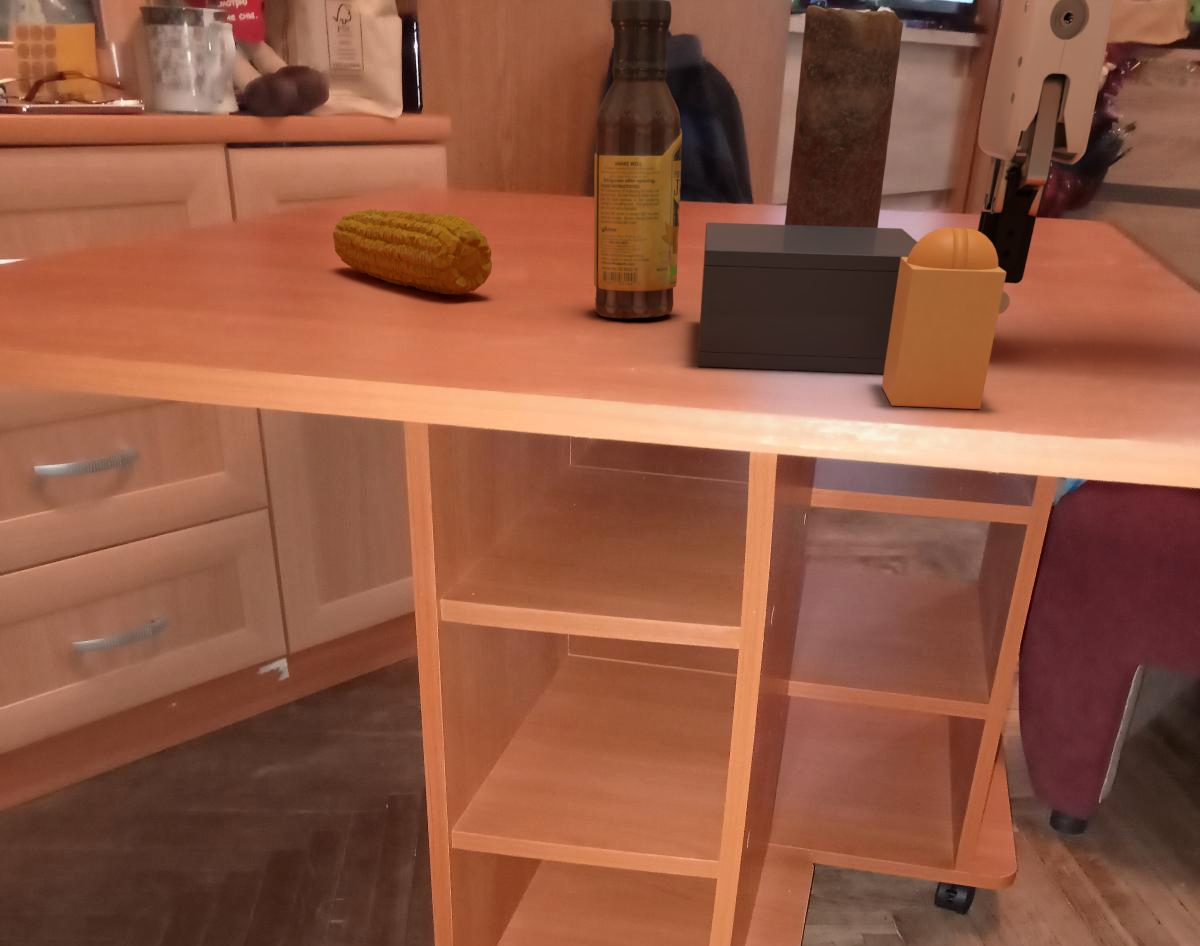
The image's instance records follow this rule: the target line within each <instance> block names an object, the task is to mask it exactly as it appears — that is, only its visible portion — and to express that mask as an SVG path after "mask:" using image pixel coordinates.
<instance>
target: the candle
mask: <svg viewBox="0 0 1200 946" xmlns="http://www.w3.org/2000/svg"><path fill="white" fill-rule="evenodd" d="M903 28H904V23H903V21H902V20H901V19H900V18H899V16H898V15H897V14H896V13H895V12H894V11H890V10H887V9H884V10H878V11H876V10H870V11H869V10H867V11H864V12H863V11H858V10H855V9H848V8H841V9H840V8H839V9H835V8H832V7H831V8H830V7H828V8H824V7H822V6H819V5H816V4H811V5H808V6H807V7H806V10H805V16H804V28H803V29H804V30H803V39H802V48H801V49H802V50H801V57H800V59H801V60H800V68H799V69H800V71H799V81H798V89H797V90H798V91H797V92H798V93H797V100H796V108H795V123H794V132H793V133H794V134H793V144H792V153H791V161H790V168H789V180H788V192H787V199H786V208H785V219H784V225H804V226H836V227H868V228H879V219H880V213H881V204H882V197H883V187H884V180H885V179H884V178H885V171H886V164H887V155H888V146H889V139H890V138H889V137H890V131H891V123H892V114H893V106H894V100H895V93H896V82H897V75H898V69H899V60H900V54H901V53H900V52H901V44H902V36H903Z"/></svg>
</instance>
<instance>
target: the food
mask: <svg viewBox="0 0 1200 946" xmlns="http://www.w3.org/2000/svg"><path fill="white" fill-rule="evenodd" d="M332 237H333V244H334V251H335V253H336V255H337V256H338V257H339V258H340V260H341V261H342V262H343V263H344V264H346V265H347V266H349V267H350V268H351V269H354V270H357V271H358V272H360V273H361V274H368V276H371V277H372V278H374V279H376V278H377V279H380V280H383V281H384V282H386V283H388V284H394V285H399V286H403V287H409V286H410V287H413V288H416V289H417V290H420V291H428V292H429V293H435V294H438V293H439V294H441V295H459V296H460V295H461V294H468V293H471V292H474V291H476V290H477V289H479V288H480V287H481V286H482V285H483V284H485V283H486V281H487V280H488V278H489V277H490V276H491V274H492V268H493V262H492V259H491V258H492V249H491V247H490V245H489V243H488V238H487V237H486V236H485V235H484V234H483V233H482V232H481V230H480V228H478V227H477V226H476V225H475V224H474V223H472V222H470V221H469V220H466V219H465V218H462V217H460V216H459V215H457V214H456V213H454V214H450V213H448V214H446V213H439V214H438V213H434V212H433V213H431V214H430V213H429V214H428V213H424V212H419V211H416V212H413V211H408V210H407V211H404V210H396V209H394V210H389V211H388V210H382V209H376V208H374V209H372V208H370V209H365V210H359V211H358V212H353V213H352V212H351V213H348V214H346V215H343V216H342V218H341V219H338V220H337V223H336V224H335V227H334V230H333V232H332Z"/></svg>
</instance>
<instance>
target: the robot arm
mask: <svg viewBox="0 0 1200 946" xmlns="http://www.w3.org/2000/svg"><path fill="white" fill-rule="evenodd" d="M1114 2H1115V0H1004V1H1003V5H1002V7H1001V10H1000V18H999V23H998V27H997V32H996V37H995V42H994V46H993V50H992V56H991V61H990V65H989V70H988V76H987V80H986V85H985V91H984V97H983V100H982V101H983V102H982V108H981V114H980V121H979V126H978V127H979V128H978V136H977V143H978V147H979V149H980V150H981V151H983V153H985V154H986V155H987V156H990V157H991V158H990V163H989V169H988V175H987V180H986V187H985V193H984V200H983V206H982V207H983V210H982V211H980V217H979V222H978V227H977V231H979V232H981V233H982V234H984V235H985V236H986V237H987V238H988V239H989V240H990V241H991V242H992V244H993V246H994V247H995V249H996V253H997V256H998V267H1000V268H1001V269H1003V270H1004V271H1006V277H1005V282H1004V284H1019V283H1020V282H1022V281H1023V278H1024V275H1025V271H1026V270H1025V269H1026V265H1027V261H1028V256H1029V252H1030V247H1031V242H1032V238H1033V234H1034V231H1035V230H1034V228H1035V225H1036V220H1037V214H1038V211H1039V207H1040V203H1041V200H1042V195H1043V191H1044V189H1045V188H1044V187H1045V186H1046V184H1047V181H1048V177H1049V171H1050V166H1051V161H1054V162H1058V163H1061V164H1063V165H1064V164H1065V165H1075V164H1076V163H1077V162H1078V161H1080V160H1081V159H1082V157H1083V156H1084V155H1085V153H1086V151H1087V148H1088V142H1089V138H1090V133H1091V129H1092V128H1091V127H1092V123H1093V118H1094V113H1095V108H1096V107H1095V106H1096V102H1097V97H1098V92H1099V87H1100V83H1101V82H1100V81H1101V76H1102V72H1103V66H1104V61H1105V56H1106V51H1107V45H1108V41H1109V33H1110V28H1111V23H1112V22H1111V21H1112V16H1113V8H1114ZM1017 154H1025V155H1017Z"/></svg>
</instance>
